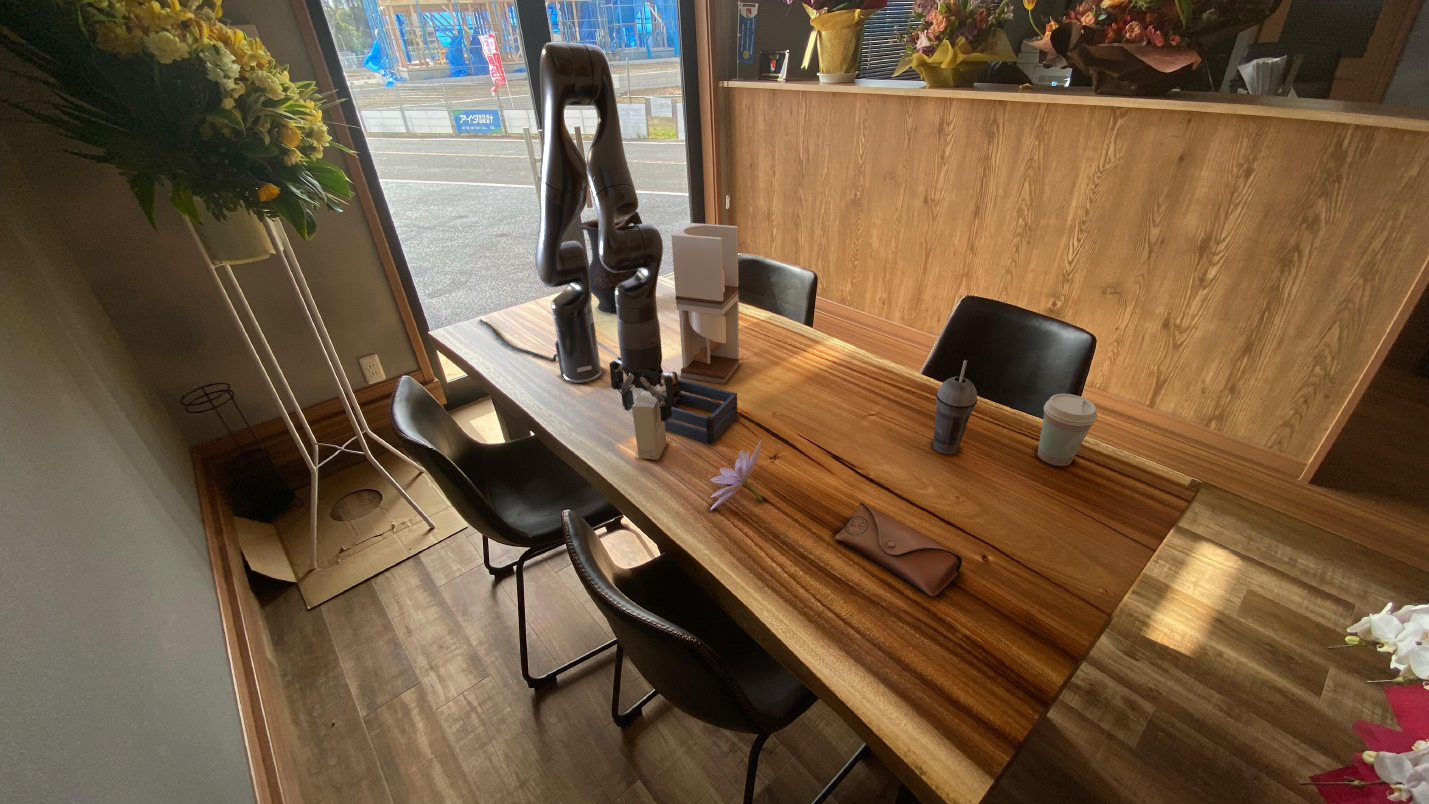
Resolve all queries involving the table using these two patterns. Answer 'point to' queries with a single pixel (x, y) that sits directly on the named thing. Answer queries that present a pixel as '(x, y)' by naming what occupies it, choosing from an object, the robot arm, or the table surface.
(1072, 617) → the table surface
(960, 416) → the beverage cup
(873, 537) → the sunglasses case
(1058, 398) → the coffee cup
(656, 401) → the cosmetic box
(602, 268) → the jug
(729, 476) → the water lily
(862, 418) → the table surface
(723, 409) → the crate
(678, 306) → the two-tier display stand
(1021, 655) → the table surface
